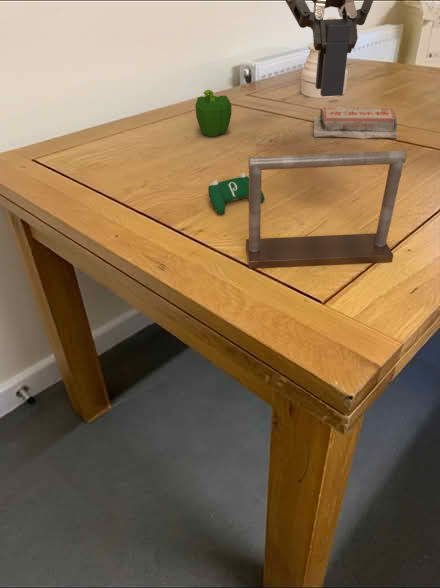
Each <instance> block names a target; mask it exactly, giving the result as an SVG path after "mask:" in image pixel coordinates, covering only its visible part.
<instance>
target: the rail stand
mask: <svg viewBox="0 0 440 588" xmlns="http://www.w3.org/2000/svg"><path fill="white" fill-rule="evenodd" d="M406 162H407V151H406V150H403V149H401V150H382V151H381V150H380V151H359V152H336V153H315V154H295V155H293V154H292V155H291V154H290V155H272V156H271V155H269V156H250V157H248V178H249V198H248V238H245V250H246V257H247V264H248V269H251V270H252V269H268V268H269V269H270V268H271V269H272V268H292V267H295V268H296V267H314V266H336V265H338V266H339V265H359V264H361V265H362V264H382V263H392V262H393V259H394V252H392V250H391V248H390V247H389V245H388V243H387V241H388V237H389V232H390V227H391V222H392V219H393V213H394V208H395V204H396V199H397V195H398V191H399V185H400V181H401V176H402V171H403V167H404V164H405V163H406ZM377 165H378V166H381V165H389V166H388V170H387V176H386V182H385V186H384V190H383V191H384V192H383V197H382V200H381V201H382V202H381V207H380V212H379V216H378V222H377V228H376V232H375V233H353V234H352V233H350V234H331V235H309V236H288V237H265V238H264V237H263V238H262V237H261V221H262V219H261V217H262V216H261V215H262V203H261V191H262V172H263V171H268V170H269V171H271V170H272V171H273V170H293V169H311V168H333V167H334V168H335V167H336V168H337V167H356V166H360V167H361V166H377Z"/></svg>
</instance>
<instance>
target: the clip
mask: <svg viewBox="0 0 440 588" xmlns="http://www.w3.org/2000/svg"><path fill="white" fill-rule="evenodd" d="M324 20H325V26H326V39H327V47H326V50H325V53H324V54H319V50H318V62H317V74H316V86H315V87H316V89H321V93H320V94H321V96H337V97H340V96H341V97H342V96H343V87H344V79H345V70H346V64H347V60H348V54H349V53H348V43H349V35H350V27H351V25H350V24H349V23H347V22H346V21H344V20H343V19H342V18H337V19H329V20H327V19H323V21H324Z"/></svg>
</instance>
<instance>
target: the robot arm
mask: <svg viewBox="0 0 440 588" xmlns="http://www.w3.org/2000/svg"><path fill="white" fill-rule="evenodd" d="M284 1H285V3H286V5H287V6H288V8H289V10H290V12H291V13H292V16H293V18H294V19H295V21H296V22H297V24H298V26H299V27H300V28H301V29H305V28H307V27H308V28H310V29H311V30H312V39H313V40H312V41H313V43H314V48H315V50H319V54H324V53H325V50H326V47H327V39H326V26H325V20H326V19H324V16H325V9H327V8H336V9H337V12H338V16H339V17H340V19H343V20H344V21H346V22H347V23H349V24H350V25H351V27H350V35H349V43H348V53H347V54H351V52H352V50H354V49H355V47H356V45H357V42H358V39H359V38H358V28H357V27H358V26H363V25H365V22H366V20H367V17H368V16H369V13H370V12H371V9H372V5H373V3H374V0H363V1H362V4H361V7H360V8H358V9H357V8H356V4H355V0H311V2H312V3H313V10H312V11H311V10H310V7H309V6H308V4H307V2H306V0H284ZM323 20H324V21H323Z"/></svg>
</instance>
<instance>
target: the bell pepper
mask: <svg viewBox="0 0 440 588" xmlns="http://www.w3.org/2000/svg"><path fill="white" fill-rule="evenodd" d="M203 95H204V96H198V97H197V98H196V102H195V105H194V107H195V115H196V116H195V117H196V120H197V124H198V127H199V130H200V131H201V133H202V135H203V136H207V137H212V138H213V137H216V136H220V135H222V134H226V133H227V131H228V129H229V126H230V123H231V118H232V104H231V101H230V99H229V98H228V96H227V95H219V96H216V95H214V91H213V90H212V89H205V90H204V91H203Z"/></svg>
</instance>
